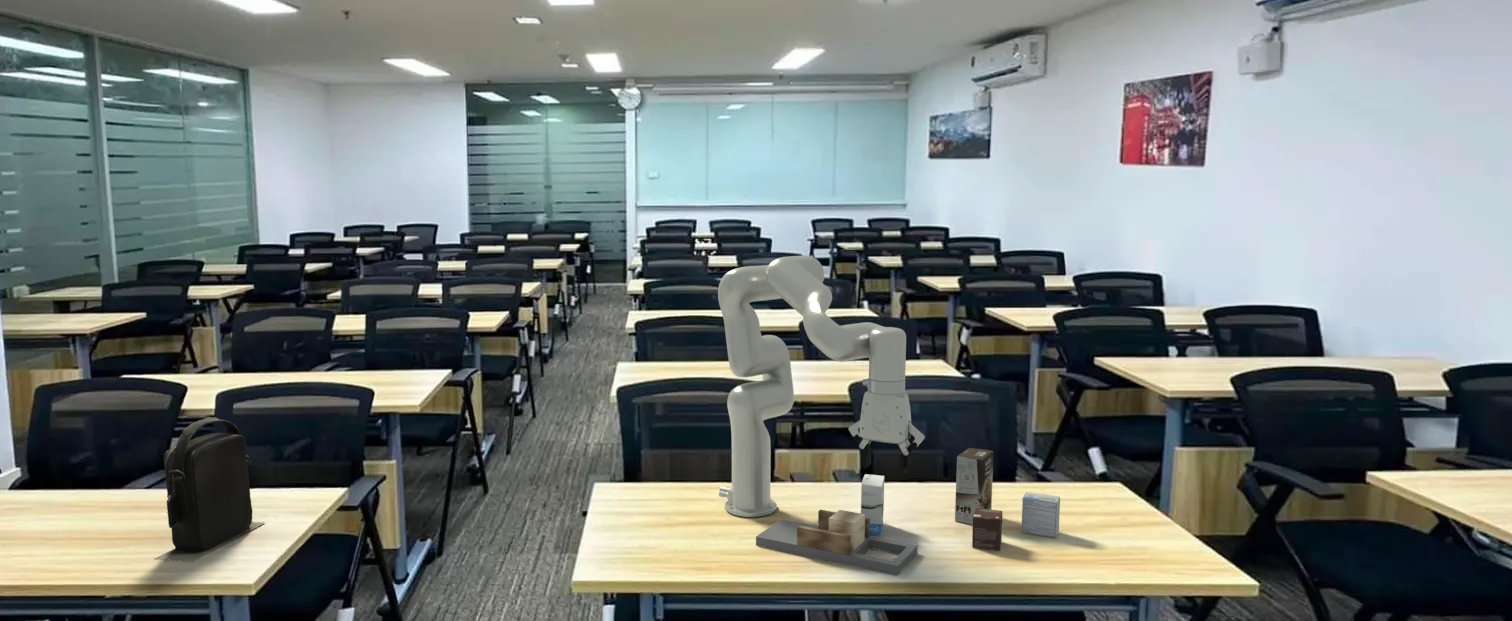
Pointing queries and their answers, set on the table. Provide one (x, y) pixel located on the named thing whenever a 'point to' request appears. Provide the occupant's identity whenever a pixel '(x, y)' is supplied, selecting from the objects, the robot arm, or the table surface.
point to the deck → (786, 540)
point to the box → (987, 529)
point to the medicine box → (1040, 514)
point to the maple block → (849, 526)
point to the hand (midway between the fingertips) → (885, 468)
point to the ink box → (873, 501)
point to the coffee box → (973, 483)
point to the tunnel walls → (827, 535)
